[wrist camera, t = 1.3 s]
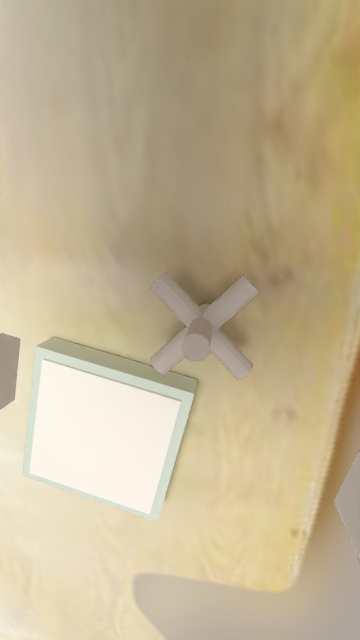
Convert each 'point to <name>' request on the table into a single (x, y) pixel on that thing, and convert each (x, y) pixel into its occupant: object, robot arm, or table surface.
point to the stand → (105, 426)
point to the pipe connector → (203, 326)
